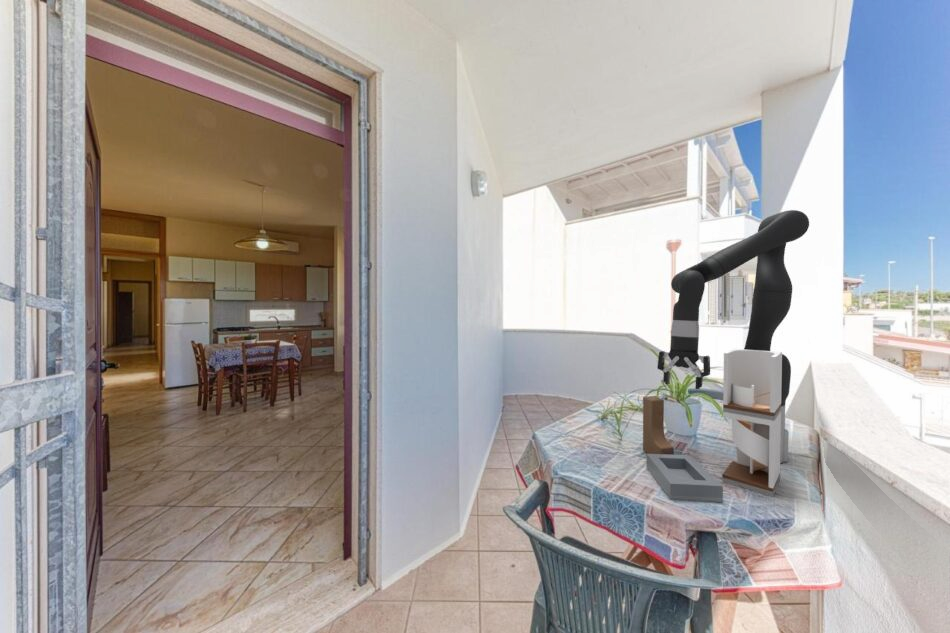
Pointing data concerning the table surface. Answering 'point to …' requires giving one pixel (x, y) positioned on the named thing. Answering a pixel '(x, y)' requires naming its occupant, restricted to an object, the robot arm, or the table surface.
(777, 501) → the table surface
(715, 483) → the grey tray
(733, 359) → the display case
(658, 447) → the wooden block
